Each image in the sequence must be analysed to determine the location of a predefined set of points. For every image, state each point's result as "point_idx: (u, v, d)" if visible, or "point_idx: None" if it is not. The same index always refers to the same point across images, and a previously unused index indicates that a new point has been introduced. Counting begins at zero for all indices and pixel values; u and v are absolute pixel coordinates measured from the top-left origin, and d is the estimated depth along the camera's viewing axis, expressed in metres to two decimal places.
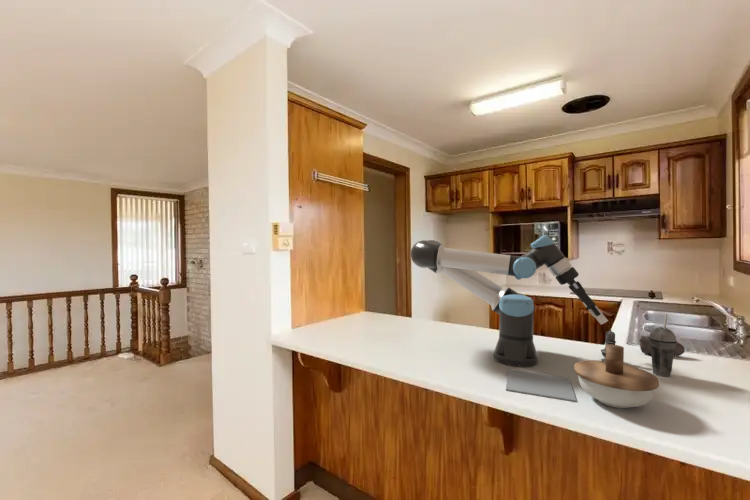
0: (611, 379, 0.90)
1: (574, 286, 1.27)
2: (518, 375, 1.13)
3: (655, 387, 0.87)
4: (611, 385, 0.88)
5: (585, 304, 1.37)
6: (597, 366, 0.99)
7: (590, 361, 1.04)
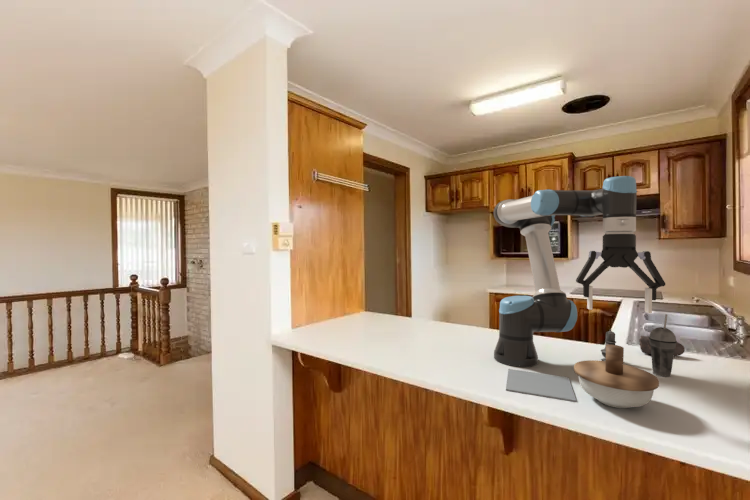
0: (611, 379, 0.90)
1: (589, 253, 0.99)
2: (518, 375, 1.13)
3: (655, 387, 0.87)
4: (611, 385, 0.88)
5: (645, 291, 0.94)
6: (597, 366, 0.99)
7: (590, 361, 1.04)
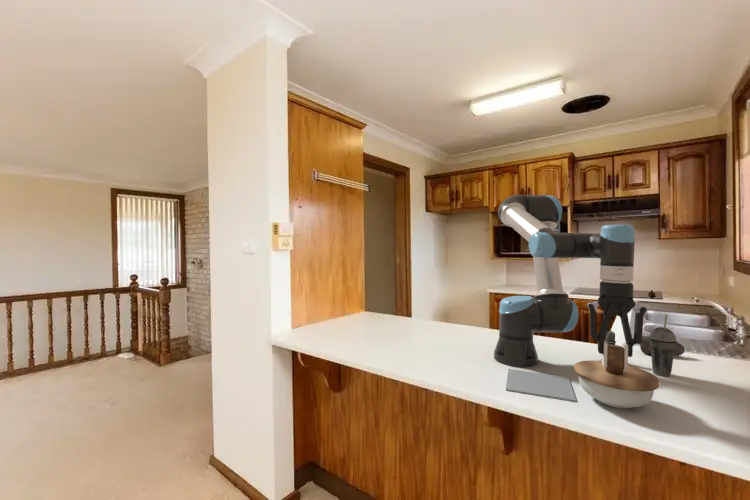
0: (611, 379, 0.90)
1: (588, 306, 0.98)
2: (518, 375, 1.13)
3: (655, 387, 0.87)
4: (611, 385, 0.88)
5: (622, 346, 0.95)
6: (597, 366, 0.99)
7: (590, 361, 1.03)
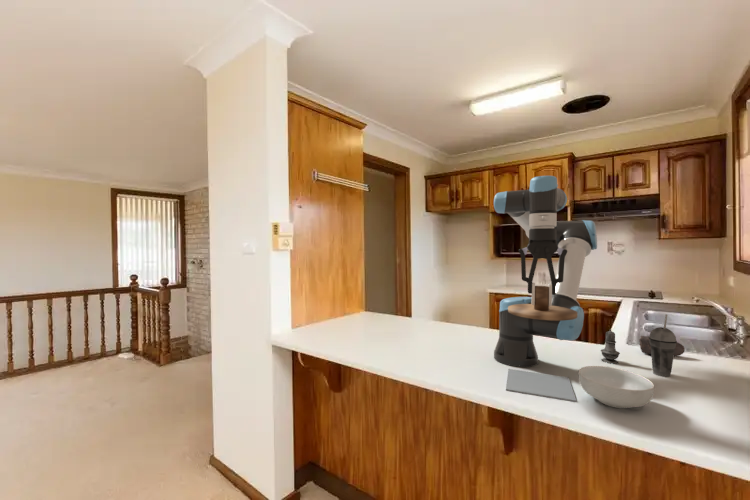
0: (535, 313, 1.00)
1: None
2: (518, 375, 1.13)
3: (572, 318, 0.98)
4: (533, 317, 0.99)
5: (548, 286, 1.06)
6: (528, 306, 1.10)
7: (524, 304, 1.14)
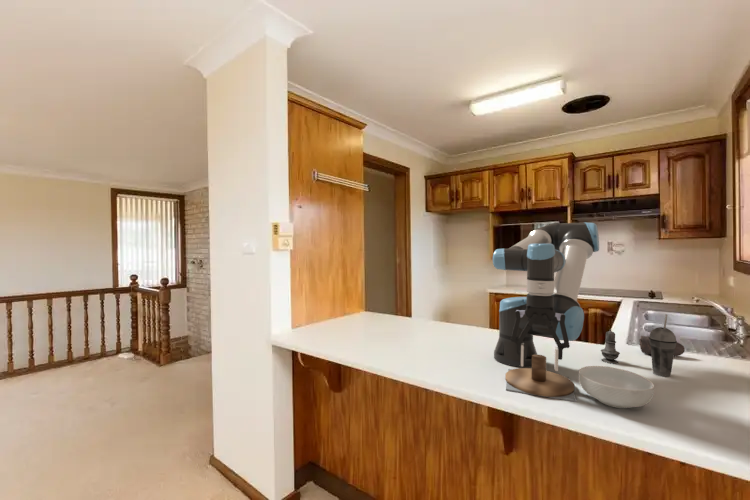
0: (532, 386, 1.01)
1: None
2: None
3: (568, 393, 0.98)
4: (530, 391, 0.99)
5: None
6: (526, 374, 1.11)
7: (522, 369, 1.15)
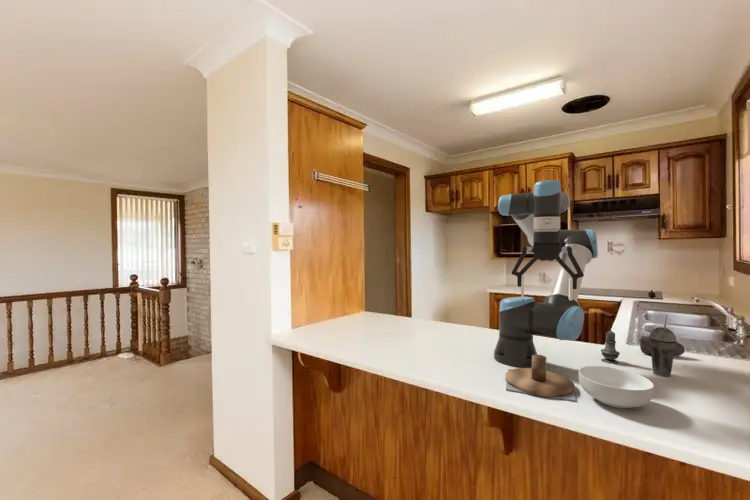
0: (532, 386, 1.01)
1: None
2: None
3: (568, 393, 0.98)
4: (530, 391, 0.99)
5: (569, 281, 1.08)
6: (526, 374, 1.11)
7: (522, 369, 1.15)
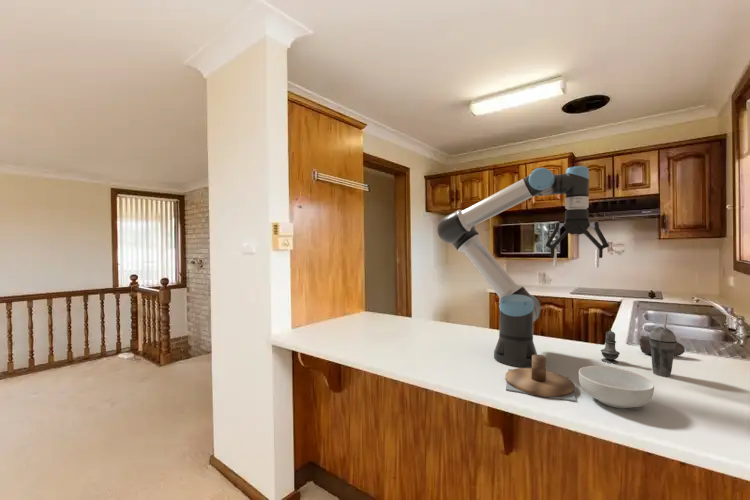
0: (532, 386, 1.01)
1: (555, 224, 1.32)
2: None
3: (568, 393, 0.98)
4: (530, 391, 0.99)
5: (595, 251, 1.28)
6: (526, 374, 1.11)
7: (522, 369, 1.15)
